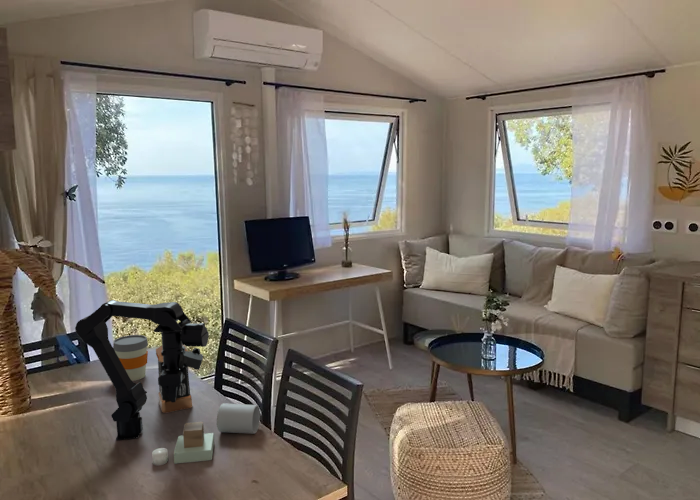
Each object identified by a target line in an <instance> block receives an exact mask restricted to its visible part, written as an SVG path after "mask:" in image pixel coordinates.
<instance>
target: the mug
mask: <svg viewBox="0 0 700 500" xmlns="http://www.w3.org/2000/svg"><path fill="white" fill-rule="evenodd" d="M260 413H261V411H260V407H259V405H256V404H243V403H242V404H240V403H227V402H223V403H221V404H220V406H219V407H218V411H217V414H216V427H217V431H218V432H220V433H232V434H233V433H234V434H235V433H237V434H250V435H252V434H256V433H257V432H258V429H259V426H260V420H261V419H260V418H261V414H260Z"/></svg>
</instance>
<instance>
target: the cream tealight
mask: <svg viewBox="0 0 700 500" xmlns="http://www.w3.org/2000/svg"><path fill="white" fill-rule="evenodd" d="M151 455H152V464H153V465H154V466H164V465H165V464H167V463H168V461H169V455H168V449H167V448H165V447H159V448H156V449H154V450H152V453H151Z"/></svg>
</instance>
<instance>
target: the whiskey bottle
mask: <svg viewBox="0 0 700 500" xmlns="http://www.w3.org/2000/svg"><path fill="white" fill-rule="evenodd" d="M182 345H183V344H182ZM183 346H184V347H185V351H188V349H187V346H185V345H183ZM161 352H162V345H161V346H159V347H157V348H156V349H155V355H156V358H157V367H158V376H159V375H160V373H161V372H162V371H168V370H167V369H162V365H163V356H161ZM188 352H189V351H188ZM158 388H159V392H158V394H157V395H158V405H159V407H160V408H159V409H160V410H161V412H162V413H163V414H168V413H173V412H178V411H182V410H188V409H191V408H193V398H192V395H191V390H190V388H191V387H190V377H189V367H186V369H185V370H184V371H183V372H182V382H181V385H180V389H179V390H177V394H176V401H175V402H171V401H170V399H169V397H168V396H167V394H166V393H165V391H164V390H163V388H162V387H161V386H160V385H158Z"/></svg>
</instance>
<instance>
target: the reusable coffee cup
mask: <svg viewBox="0 0 700 500" xmlns="http://www.w3.org/2000/svg"><path fill="white" fill-rule="evenodd" d="M148 346H149V344H148V338H147V336H145V335H142V334H130V335H124V336H120V337H118V338H115V339H114V340H113V343H112V347H113V349H114V350H115V352H116V354H117V356H118V358H119V359H120V361H121V363H122V365H123V367H124V368H125V370H126V372H127V374H128V376H129V377H130V379H131V380H132V381H133V382H135V381H138V380H142V379H143V378H145V377H146V368H147V364H148V357H149V356H148V354H149V353H148V351H149V350H148Z"/></svg>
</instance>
